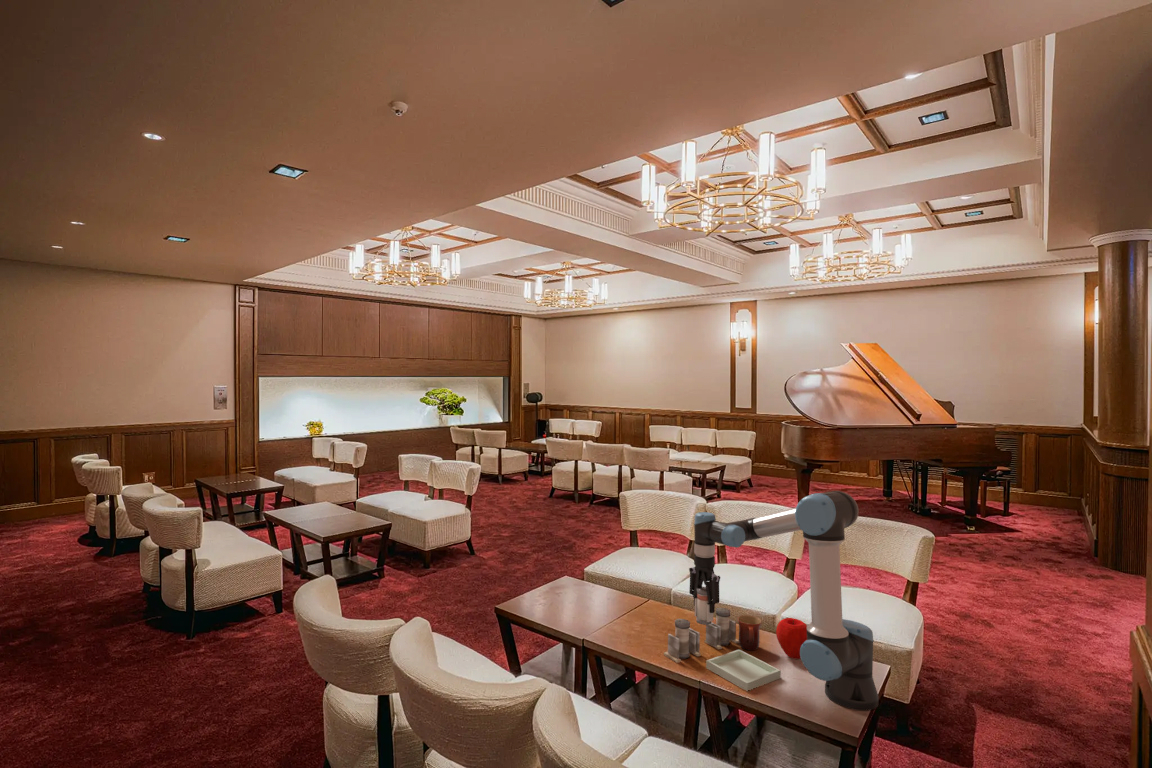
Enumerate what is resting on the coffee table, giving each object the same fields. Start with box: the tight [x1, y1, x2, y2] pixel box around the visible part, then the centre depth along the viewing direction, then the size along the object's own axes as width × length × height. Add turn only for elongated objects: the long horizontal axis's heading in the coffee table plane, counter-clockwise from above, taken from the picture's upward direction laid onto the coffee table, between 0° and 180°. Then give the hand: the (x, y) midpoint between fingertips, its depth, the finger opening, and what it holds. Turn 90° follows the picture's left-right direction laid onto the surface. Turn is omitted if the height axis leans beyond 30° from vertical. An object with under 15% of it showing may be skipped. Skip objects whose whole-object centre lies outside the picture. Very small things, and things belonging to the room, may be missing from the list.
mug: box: [737, 614, 763, 652], centre depth 209 cm, size 12×9×10 cm
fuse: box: [695, 586, 712, 626], centre depth 209 cm, size 5×5×12 cm
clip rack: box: [663, 607, 739, 664], centre depth 209 cm, size 7×32×12 cm, turn 123°
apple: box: [775, 617, 808, 660], centre depth 204 cm, size 12×12×13 cm
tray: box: [705, 649, 782, 692], centre depth 191 cm, size 18×17×3 cm
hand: (703, 618), depth 208 cm, fingers closed on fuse, 5 cm apart
